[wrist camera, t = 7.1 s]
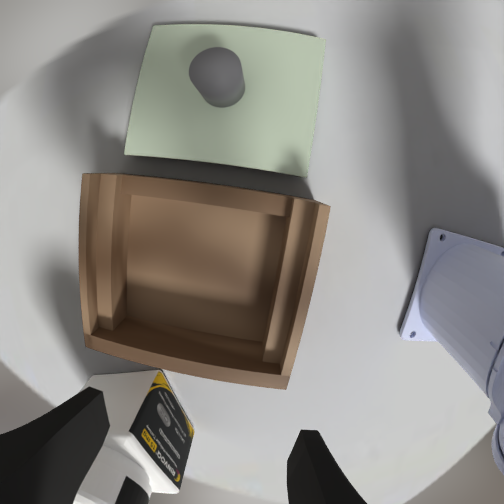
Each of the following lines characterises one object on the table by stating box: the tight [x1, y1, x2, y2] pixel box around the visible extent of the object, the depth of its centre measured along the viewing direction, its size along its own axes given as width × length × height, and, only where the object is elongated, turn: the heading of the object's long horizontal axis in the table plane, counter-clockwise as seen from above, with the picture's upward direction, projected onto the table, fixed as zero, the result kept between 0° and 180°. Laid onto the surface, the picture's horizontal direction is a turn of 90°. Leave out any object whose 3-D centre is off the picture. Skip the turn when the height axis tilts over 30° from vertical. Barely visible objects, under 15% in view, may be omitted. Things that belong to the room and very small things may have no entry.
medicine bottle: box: [73, 370, 194, 504], centre depth 15 cm, size 7×7×12 cm
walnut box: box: [79, 173, 331, 390], centre depth 16 cm, size 10×12×4 cm
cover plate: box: [124, 24, 326, 178], centre depth 13 cm, size 9×10×4 cm
